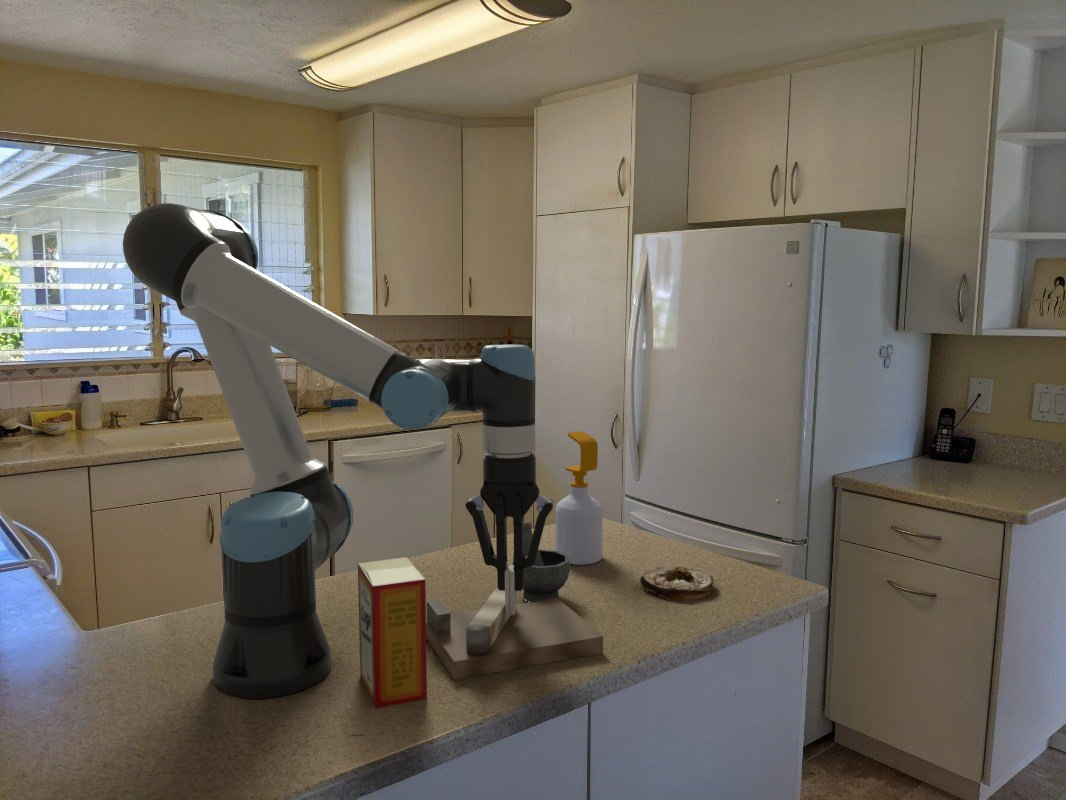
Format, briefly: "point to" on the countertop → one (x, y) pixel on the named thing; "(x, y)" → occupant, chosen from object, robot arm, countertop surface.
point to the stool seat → (512, 638)
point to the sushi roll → (677, 583)
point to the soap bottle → (580, 510)
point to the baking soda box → (392, 631)
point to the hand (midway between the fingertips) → (510, 611)
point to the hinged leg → (487, 624)
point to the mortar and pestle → (543, 571)
